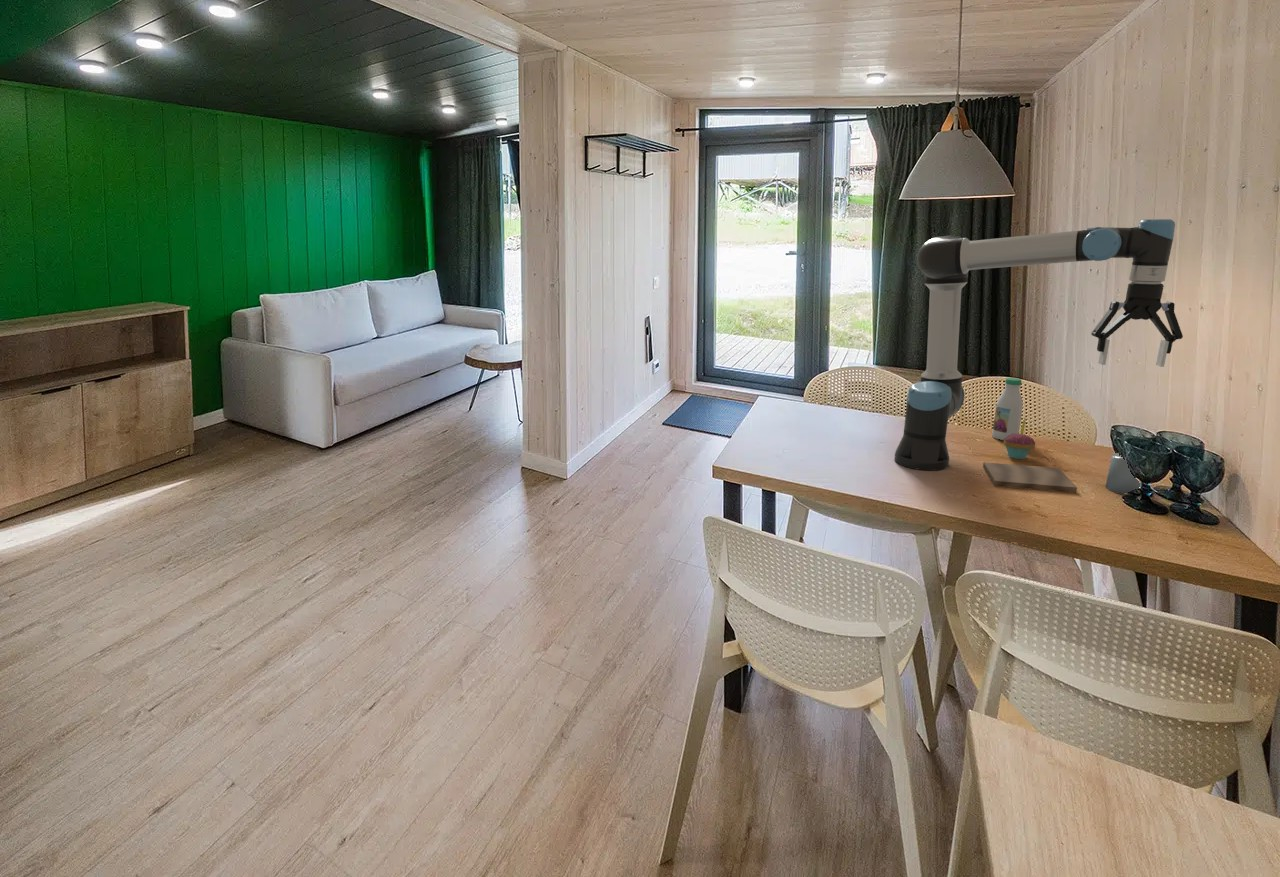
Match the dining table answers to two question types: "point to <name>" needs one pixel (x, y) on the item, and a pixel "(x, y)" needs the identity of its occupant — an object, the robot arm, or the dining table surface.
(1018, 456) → the cupcake
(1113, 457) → the grey rounded block
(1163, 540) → the dining table surface
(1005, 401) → the milk bottle
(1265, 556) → the dining table surface
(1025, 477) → the walnut board
